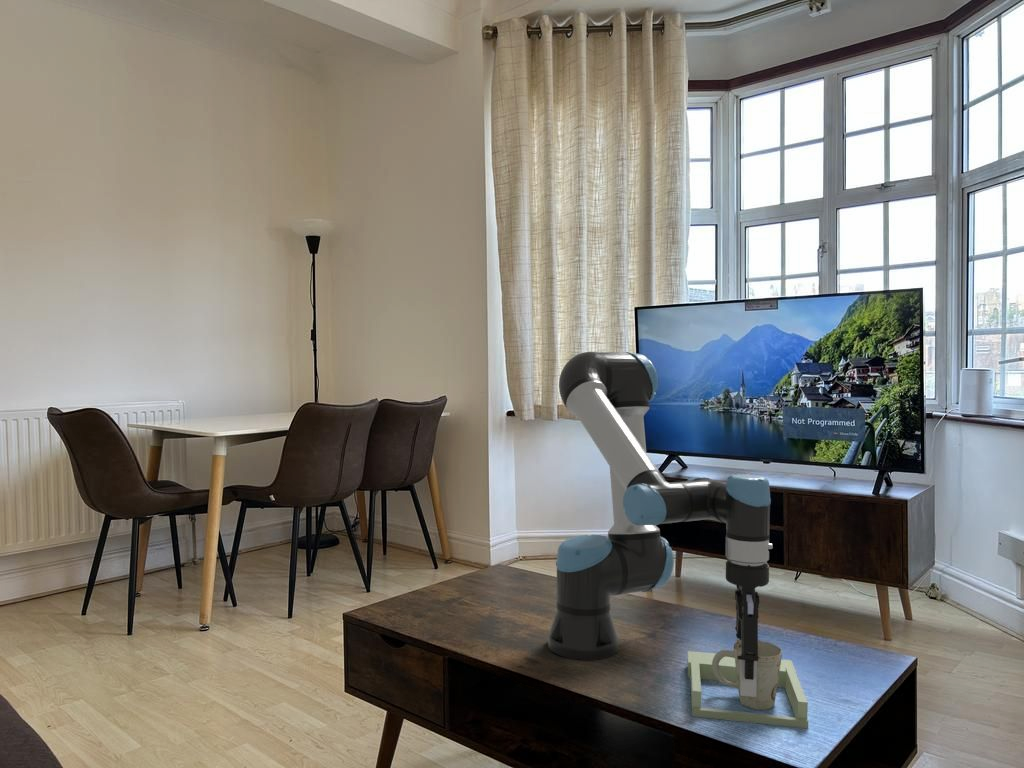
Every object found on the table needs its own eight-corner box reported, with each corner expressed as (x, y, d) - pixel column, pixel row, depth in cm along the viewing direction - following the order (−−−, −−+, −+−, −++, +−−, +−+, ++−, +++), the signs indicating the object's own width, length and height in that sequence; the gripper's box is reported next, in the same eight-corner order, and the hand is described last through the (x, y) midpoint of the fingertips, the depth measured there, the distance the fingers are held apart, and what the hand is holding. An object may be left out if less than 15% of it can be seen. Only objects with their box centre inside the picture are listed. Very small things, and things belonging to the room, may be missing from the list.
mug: (775, 717, 129) (776, 660, 129) (704, 699, 136) (704, 645, 136) (785, 699, 136) (786, 645, 136) (717, 683, 143) (718, 632, 143)
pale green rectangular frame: (689, 715, 129) (689, 693, 129) (687, 665, 151) (687, 646, 151) (811, 728, 125) (811, 705, 125) (791, 675, 147) (791, 655, 147)
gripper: (776, 577, 124) (775, 712, 124) (762, 548, 144) (760, 664, 145) (729, 574, 125) (728, 708, 126) (722, 546, 146) (721, 661, 146)
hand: (745, 684), depth 135 cm, fingers closed on mug, 8 cm apart
